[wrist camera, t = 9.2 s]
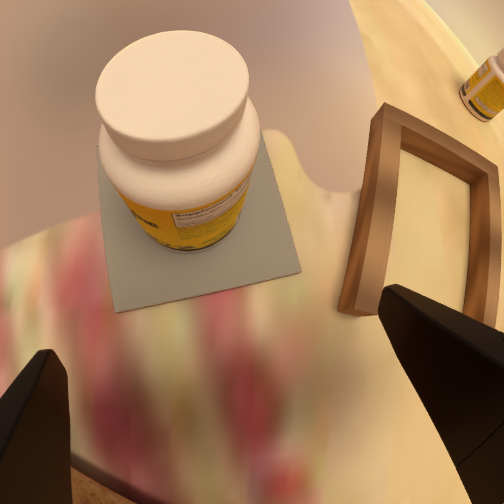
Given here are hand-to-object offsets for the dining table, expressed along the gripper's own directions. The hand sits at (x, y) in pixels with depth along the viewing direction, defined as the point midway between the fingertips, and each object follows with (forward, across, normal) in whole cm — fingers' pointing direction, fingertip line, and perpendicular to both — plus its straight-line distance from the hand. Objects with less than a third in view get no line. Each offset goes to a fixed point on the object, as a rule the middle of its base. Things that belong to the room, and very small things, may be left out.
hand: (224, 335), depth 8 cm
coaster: (+13, 0, +2) cm, 13 cm away
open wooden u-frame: (+10, -17, +4) cm, 20 cm away
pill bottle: (+12, 0, +2) cm, 13 cm away
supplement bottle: (+18, -30, -5) cm, 36 cm away
